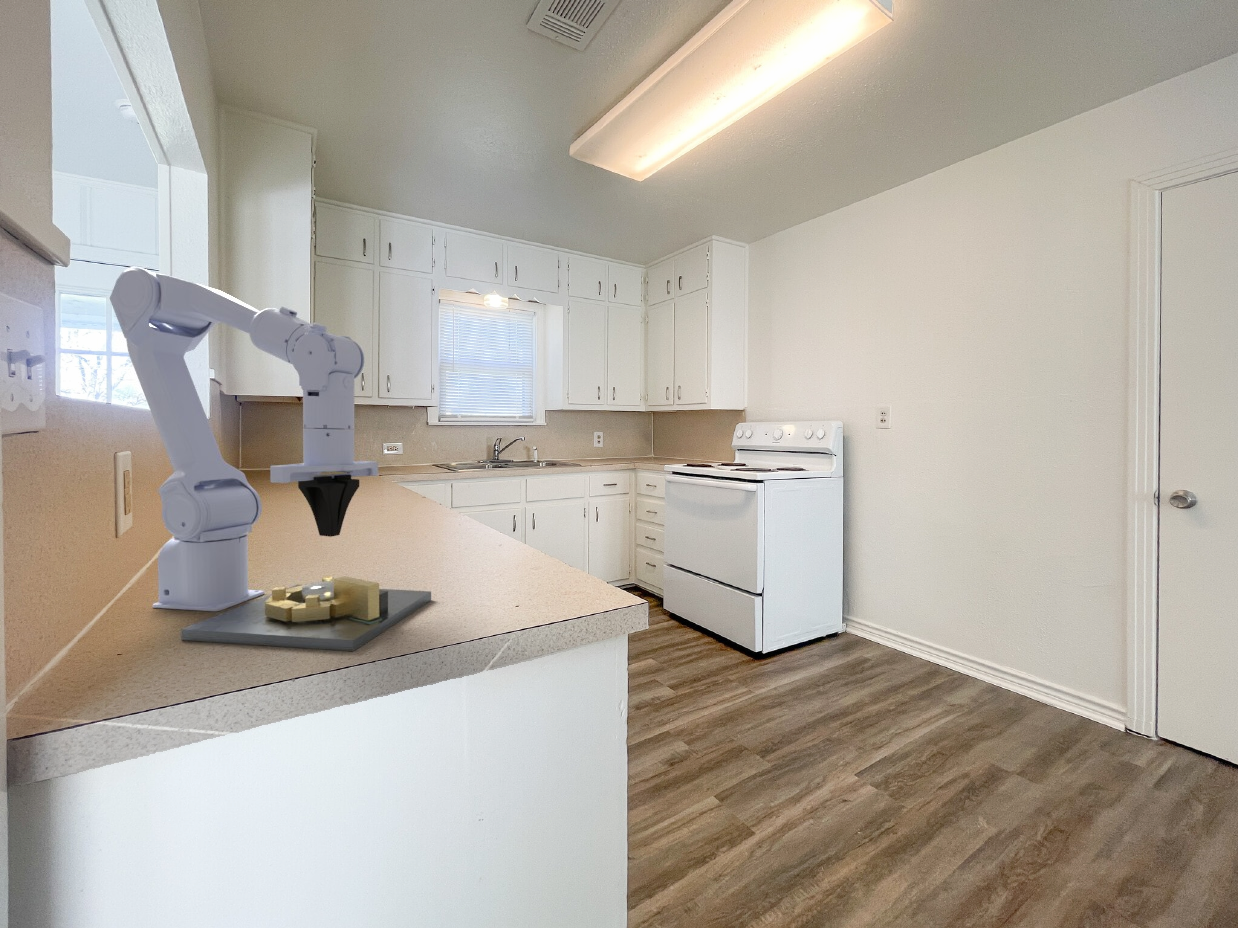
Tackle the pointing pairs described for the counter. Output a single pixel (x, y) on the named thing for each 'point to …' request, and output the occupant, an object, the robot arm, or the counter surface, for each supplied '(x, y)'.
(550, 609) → the counter surface
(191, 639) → the dark gray base plate
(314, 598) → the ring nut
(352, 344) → the robot arm
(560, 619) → the counter surface
